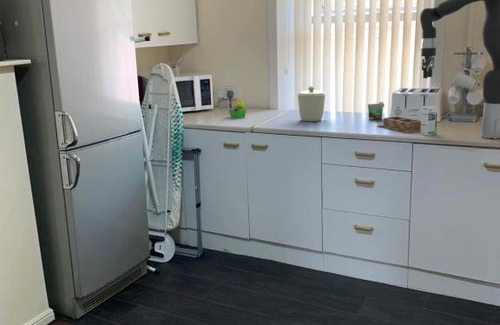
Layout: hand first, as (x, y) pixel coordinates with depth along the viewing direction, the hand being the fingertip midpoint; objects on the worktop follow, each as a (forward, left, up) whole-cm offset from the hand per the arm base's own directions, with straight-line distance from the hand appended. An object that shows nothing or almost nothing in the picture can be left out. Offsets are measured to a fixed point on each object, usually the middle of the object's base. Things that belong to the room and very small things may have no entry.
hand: (427, 77), depth 275 cm
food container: (+34, +4, -28) cm, 44 cm away
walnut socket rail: (+5, +12, -27) cm, 30 cm away
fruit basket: (+97, +68, -28) cm, 122 cm away
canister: (+57, +37, -28) cm, 74 cm away
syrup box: (-14, +12, -28) cm, 33 cm away
